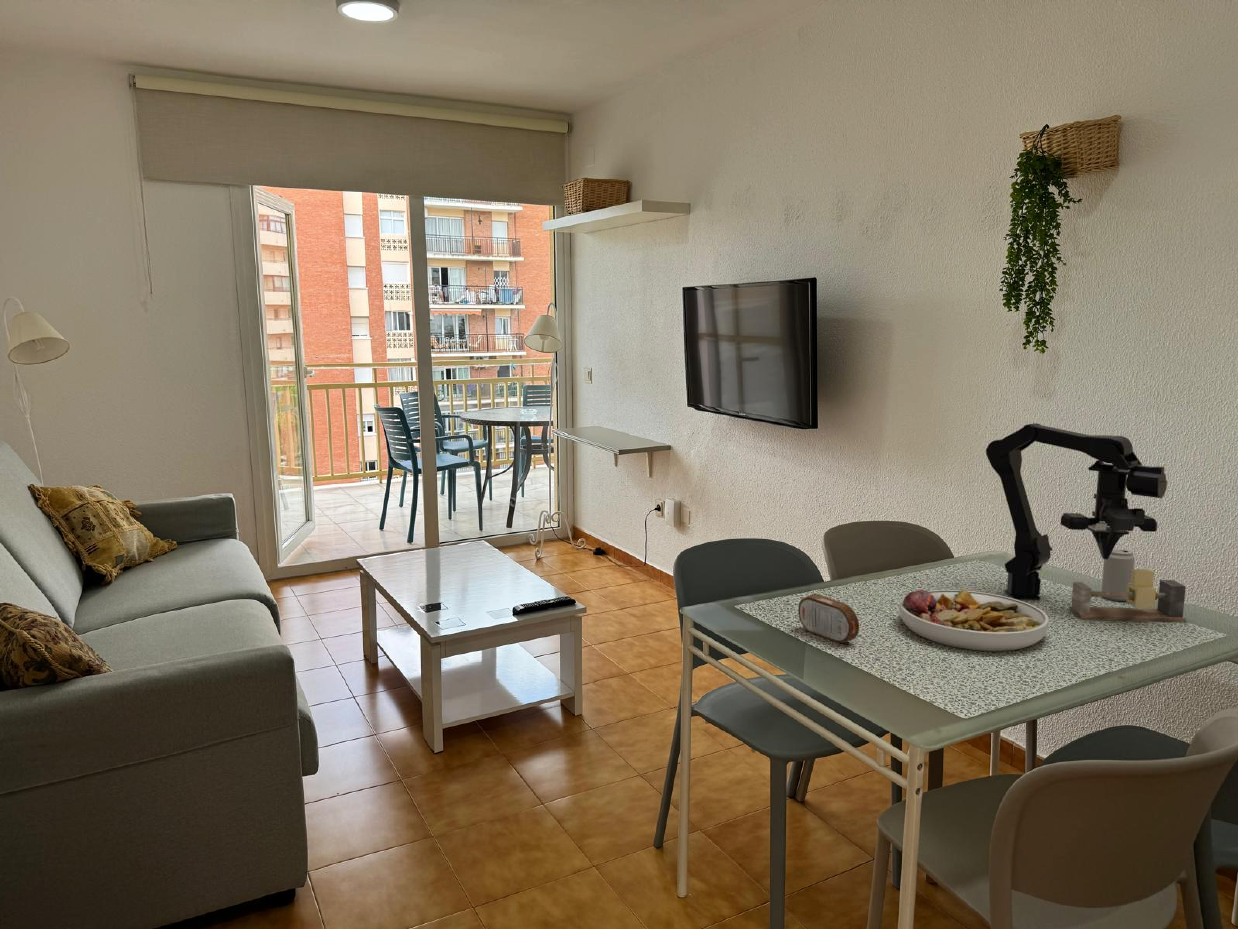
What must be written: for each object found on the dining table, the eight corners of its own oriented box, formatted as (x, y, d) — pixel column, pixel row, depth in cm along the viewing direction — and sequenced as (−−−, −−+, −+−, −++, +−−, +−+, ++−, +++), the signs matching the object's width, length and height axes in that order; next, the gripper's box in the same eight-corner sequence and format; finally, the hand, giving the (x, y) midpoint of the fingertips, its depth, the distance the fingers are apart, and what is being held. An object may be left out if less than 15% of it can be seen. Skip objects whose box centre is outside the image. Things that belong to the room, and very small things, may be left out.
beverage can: (1136, 602, 209) (1140, 553, 208) (1109, 602, 210) (1113, 553, 208) (1122, 594, 216) (1126, 547, 214) (1095, 594, 216) (1099, 547, 214)
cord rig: (1081, 619, 197) (1084, 585, 196) (1069, 609, 204) (1071, 576, 203) (1184, 622, 195) (1188, 587, 194) (1168, 612, 202) (1171, 578, 200)
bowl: (1032, 616, 200) (1035, 583, 199) (1061, 663, 172) (1064, 625, 171) (896, 605, 208) (897, 573, 207) (901, 649, 180) (903, 612, 179)
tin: (859, 645, 181) (861, 606, 180) (849, 649, 179) (850, 609, 178) (805, 626, 193) (806, 589, 192) (795, 629, 191) (796, 591, 190)
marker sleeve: (1135, 607, 197) (1138, 572, 195) (1126, 601, 201) (1129, 567, 200) (1154, 607, 196) (1157, 573, 195) (1144, 601, 201) (1147, 568, 199)
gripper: (1082, 497, 190) (1076, 567, 192) (1173, 499, 188) (1166, 569, 190) (1062, 488, 201) (1057, 554, 203) (1147, 490, 199) (1141, 556, 201)
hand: (1105, 559), depth 199 cm, fingers closed
